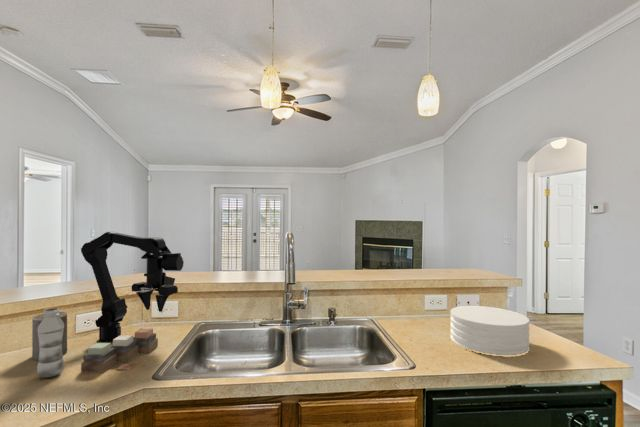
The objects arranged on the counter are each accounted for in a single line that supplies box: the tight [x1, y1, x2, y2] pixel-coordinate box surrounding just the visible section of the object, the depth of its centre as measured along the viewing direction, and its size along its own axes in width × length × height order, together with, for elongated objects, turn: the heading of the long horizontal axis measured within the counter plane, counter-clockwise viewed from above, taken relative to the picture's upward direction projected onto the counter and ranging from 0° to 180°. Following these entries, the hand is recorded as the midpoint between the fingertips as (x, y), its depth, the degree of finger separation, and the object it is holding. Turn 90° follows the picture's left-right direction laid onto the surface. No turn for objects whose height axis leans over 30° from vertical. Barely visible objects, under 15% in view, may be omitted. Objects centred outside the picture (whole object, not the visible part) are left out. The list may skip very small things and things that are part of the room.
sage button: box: [87, 342, 112, 355], centre depth 112 cm, size 4×4×2 cm
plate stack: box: [449, 305, 530, 355], centre depth 139 cm, size 28×28×12 cm
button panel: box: [80, 332, 159, 373], centre depth 120 cm, size 14×22×5 cm, turn 1°
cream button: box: [112, 334, 134, 346], centre depth 120 cm, size 4×4×2 cm
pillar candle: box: [31, 311, 68, 361], centre depth 122 cm, size 10×10×15 cm
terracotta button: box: [134, 327, 154, 338], centre depth 128 cm, size 4×4×2 cm
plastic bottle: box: [36, 307, 65, 379], centre depth 106 cm, size 6×7×20 cm
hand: (154, 310), depth 136 cm, fingers open, 6 cm apart
